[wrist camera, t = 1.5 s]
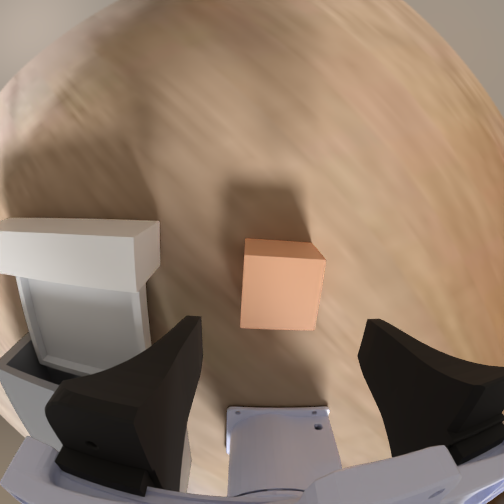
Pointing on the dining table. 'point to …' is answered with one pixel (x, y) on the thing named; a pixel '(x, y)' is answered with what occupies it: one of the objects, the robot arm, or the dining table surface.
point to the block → (281, 284)
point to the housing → (46, 396)
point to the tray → (82, 287)
